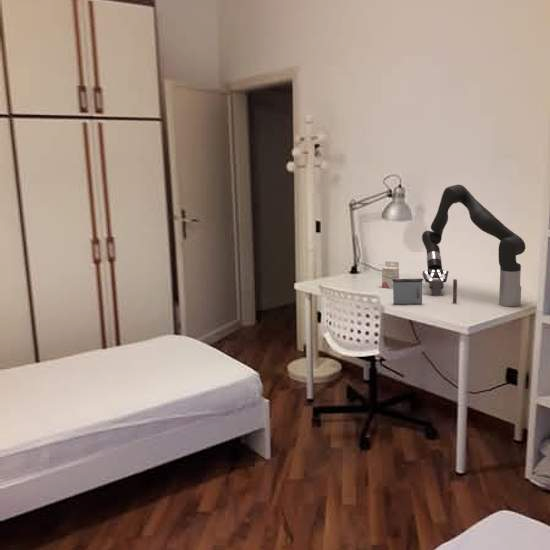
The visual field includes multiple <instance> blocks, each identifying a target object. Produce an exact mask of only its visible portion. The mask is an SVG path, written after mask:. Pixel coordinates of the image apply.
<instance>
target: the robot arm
mask: <svg viewBox="0 0 550 550" xmlns="http://www.w3.org/2000/svg"><path fill="white" fill-rule="evenodd" d="M459 203H460V204H462V205H463V206H464V207H465V208H466V209H467V211H468V215H469V218H470V221H471V222H472V223H473V224H474V225H475V226H476V227H477V228H478V229H479V230H480V231H482V232H484V233H486V234H488V235H491V236H492V237H493V238H496V239H498V240H499V241H500V242H499V244H498V264H499V272H500V274H499V293H498V295H499V297H498V298H499V299H498V304H499V305H500V306H503V307H517V306H521V301H522V300H521V299H522V286H521V273H522V272H521V271H522V265H521V263H518V262H517V256H518V255H519V256H520V255H522V254H523V253H524V252H525V251H526V243H525V241H524V239H523V238H522V237H521V236H519V235H518V234H516V233H514V231H512V230H511V229H510V228H508V227H507V226H506V225H505V224H504V223H502V221H500V220H499V219H498V218H497V217H496V216H495V215H494V214H492V212H490V210H488V209H487V208H486V207H484V206H483V204H482V203H480V202H479V201H478V200H477V199H476V198H475V197H474V196H473V194H472V193H471V192H470V191H469V190H468V189H467V188H466V187H465V186H464V185H463V184H454V185H450V186H448V187H446V188H445V189H444V190H443V193H442V194H441V199H440V202H439V205H438V209H437V212H436V215H435V216H434V218H433V221H432V222H431V225H430V230H425V231H424V232H423V233H422V235H421V240H422V243H423V246H424V248H425V250H426V264H427V270H426V271H425V270H423V271H422V277H423V280H424V282H425V283H426V284H427V283H428V284H429V286H428V287H429V289H430V290H431V289H432V288H433V286H432V279H440V280H441V281H442V283H441V290H442V289H444V287H445V286H444V283H446V282H447V280H448V275H449V271H448V270H445V271H444V270H443V265H442V256H441V249H440V246H439V245H440V243H441V242H442V237H443V232H444V230H445V227H446V225H447V223H448V221H449V210H450V208H451V206H453V204H459ZM442 275H443V276H444V278H443V276H442ZM428 276H429V278H428Z"/></svg>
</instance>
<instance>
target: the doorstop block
mask: <svg viewBox="0 0 550 550" xmlns="http://www.w3.org/2000/svg"><path fill="white" fill-rule="evenodd" d="M441 283H442V281H441V280H440V279H438V278H433V279H432V286H433V288H432V289H431V288H430V290H431V291H430V294H431V296H432V297H441V296H442V289H441Z"/></svg>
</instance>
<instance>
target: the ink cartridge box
mask: <svg viewBox="0 0 550 550" xmlns="http://www.w3.org/2000/svg"><path fill="white" fill-rule="evenodd" d="M399 265H400V264H399V262H398V261H385V266H383V267H381V276H382V277H381V288H383V289H384V288H385V289H391V288H393V281H392V279H400V267H399Z"/></svg>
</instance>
